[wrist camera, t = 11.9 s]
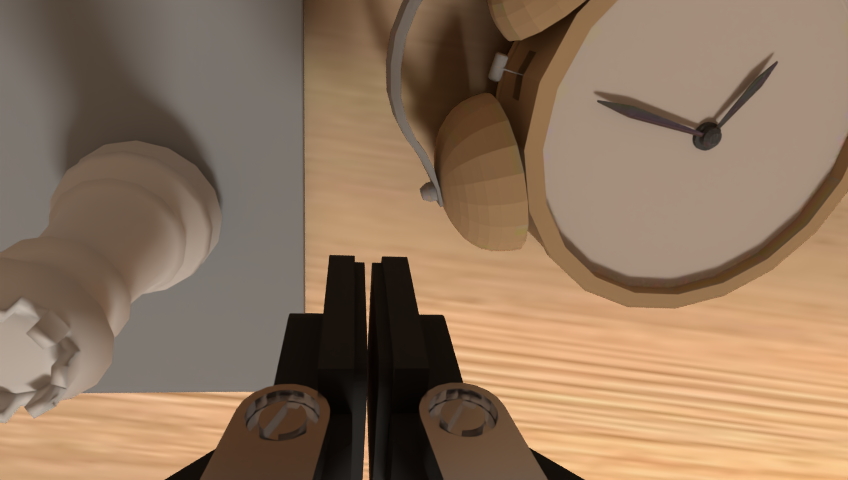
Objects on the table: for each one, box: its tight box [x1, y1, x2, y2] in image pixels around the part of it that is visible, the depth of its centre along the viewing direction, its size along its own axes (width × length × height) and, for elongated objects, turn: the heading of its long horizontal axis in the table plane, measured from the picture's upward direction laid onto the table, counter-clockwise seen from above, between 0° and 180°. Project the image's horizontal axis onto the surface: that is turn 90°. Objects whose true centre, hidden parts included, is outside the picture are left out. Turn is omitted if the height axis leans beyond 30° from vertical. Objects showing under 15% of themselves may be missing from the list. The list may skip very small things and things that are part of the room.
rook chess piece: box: [0, 140, 222, 423], centre depth 13 cm, size 4×4×8 cm
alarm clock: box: [386, 0, 848, 308], centre depth 16 cm, size 11×5×15 cm
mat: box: [0, 0, 305, 393], centre depth 17 cm, size 14×14×1 cm
